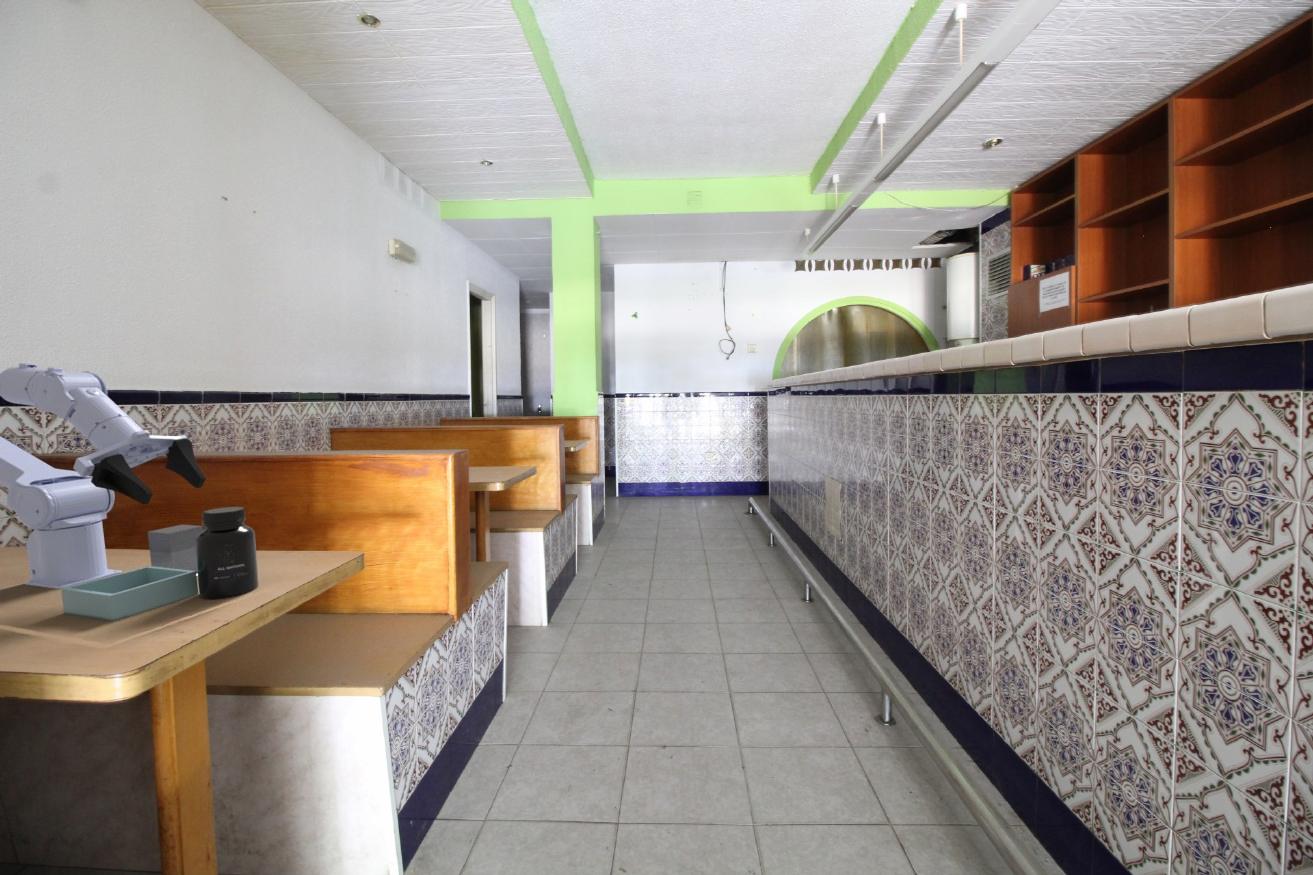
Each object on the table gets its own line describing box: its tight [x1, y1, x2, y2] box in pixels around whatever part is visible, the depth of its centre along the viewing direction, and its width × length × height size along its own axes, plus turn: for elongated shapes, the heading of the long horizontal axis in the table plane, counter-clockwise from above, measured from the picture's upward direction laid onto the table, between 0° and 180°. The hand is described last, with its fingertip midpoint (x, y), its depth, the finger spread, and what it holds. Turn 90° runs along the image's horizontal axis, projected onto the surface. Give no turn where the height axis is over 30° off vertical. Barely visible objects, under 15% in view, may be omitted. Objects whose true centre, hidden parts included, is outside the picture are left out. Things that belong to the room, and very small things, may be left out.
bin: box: [60, 565, 199, 622], centre depth 80 cm, size 10×10×4 cm
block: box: [147, 524, 204, 574], centre depth 92 cm, size 5×5×7 cm
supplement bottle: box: [195, 506, 259, 601], centre depth 83 cm, size 7×7×12 cm
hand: (176, 491), depth 88 cm, fingers open, 7 cm apart
